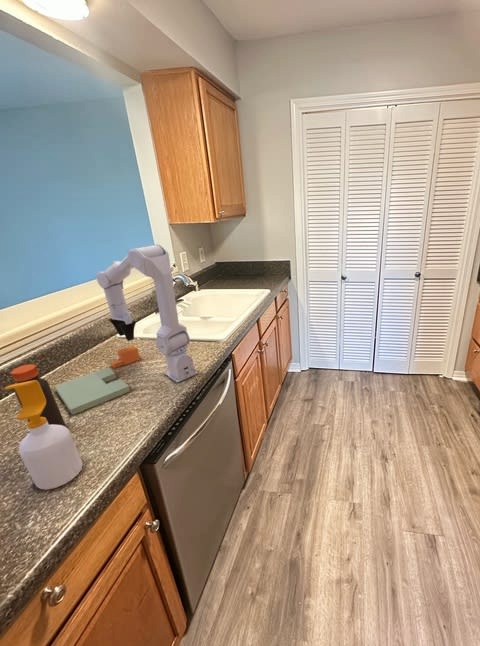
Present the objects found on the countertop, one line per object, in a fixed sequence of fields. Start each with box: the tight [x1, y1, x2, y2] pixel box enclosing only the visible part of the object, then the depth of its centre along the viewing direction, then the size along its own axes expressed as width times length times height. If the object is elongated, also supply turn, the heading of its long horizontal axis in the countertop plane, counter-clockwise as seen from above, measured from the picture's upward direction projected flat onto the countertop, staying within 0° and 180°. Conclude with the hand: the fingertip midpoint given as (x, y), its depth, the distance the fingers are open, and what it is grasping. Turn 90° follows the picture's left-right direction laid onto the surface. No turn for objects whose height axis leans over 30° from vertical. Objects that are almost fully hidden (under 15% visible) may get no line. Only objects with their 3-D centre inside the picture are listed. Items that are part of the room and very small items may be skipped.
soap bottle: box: [4, 380, 84, 490], centre depth 69 cm, size 9×9×25 cm
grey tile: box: [54, 367, 131, 416], centre depth 106 cm, size 20×16×2 cm
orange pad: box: [110, 345, 141, 369], centre depth 124 cm, size 4×10×5 cm, turn 136°
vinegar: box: [10, 363, 67, 428], centre depth 84 cm, size 7×7×20 cm
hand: (126, 337), depth 123 cm, fingers open, 7 cm apart
